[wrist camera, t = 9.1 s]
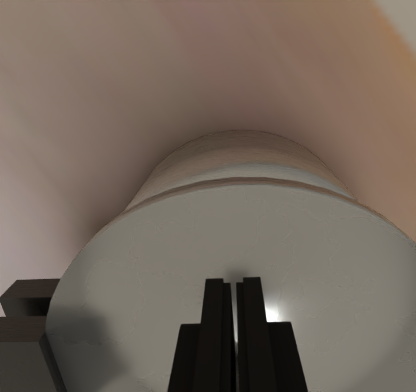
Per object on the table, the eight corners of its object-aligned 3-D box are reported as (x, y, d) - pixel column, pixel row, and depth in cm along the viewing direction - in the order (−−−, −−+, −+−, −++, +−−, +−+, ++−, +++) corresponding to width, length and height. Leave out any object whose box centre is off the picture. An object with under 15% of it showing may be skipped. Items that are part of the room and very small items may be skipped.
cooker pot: (340, 329, 30) (403, 482, 19) (114, 333, 32) (53, 473, 21) (358, 120, 23) (477, 174, 12) (65, 142, 25) (-66, 206, 14)
